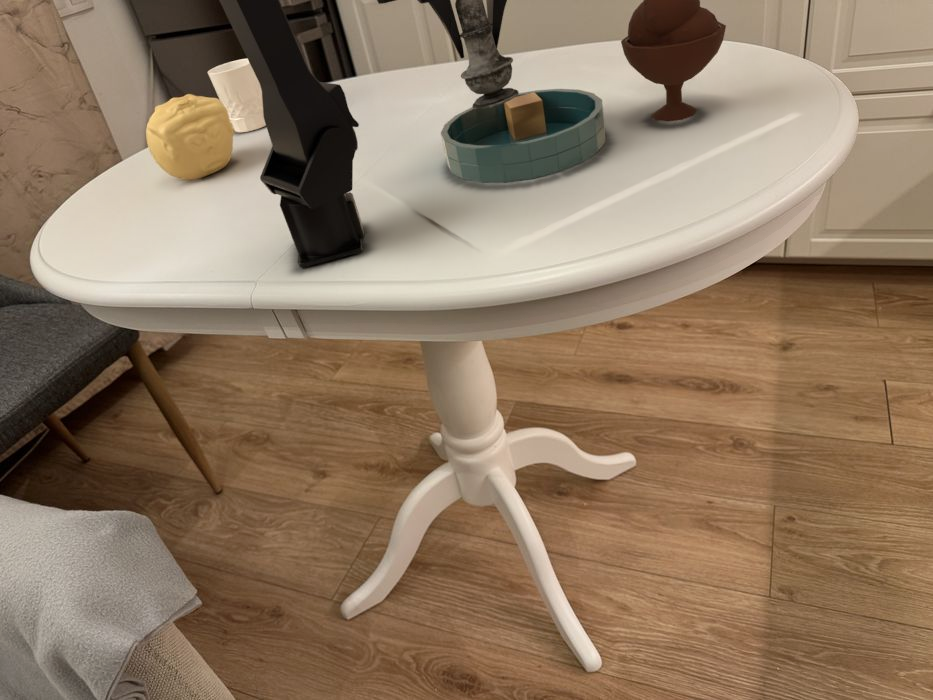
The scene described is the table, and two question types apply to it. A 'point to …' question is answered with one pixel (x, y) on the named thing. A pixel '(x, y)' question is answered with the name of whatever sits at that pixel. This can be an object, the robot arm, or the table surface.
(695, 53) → the ice cream bowl
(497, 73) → the salt shaker
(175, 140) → the sculpture
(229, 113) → the white cup
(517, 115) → the block
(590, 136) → the bowl
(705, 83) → the table surface
